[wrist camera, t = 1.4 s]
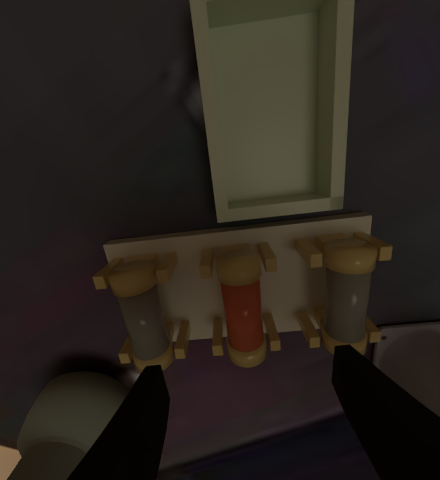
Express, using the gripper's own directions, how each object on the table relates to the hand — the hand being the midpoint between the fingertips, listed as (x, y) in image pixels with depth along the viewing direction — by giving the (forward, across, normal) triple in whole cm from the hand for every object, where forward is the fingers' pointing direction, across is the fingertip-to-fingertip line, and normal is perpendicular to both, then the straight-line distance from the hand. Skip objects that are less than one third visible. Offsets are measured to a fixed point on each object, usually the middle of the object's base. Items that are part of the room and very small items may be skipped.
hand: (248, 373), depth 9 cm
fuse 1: (+8, +7, +2) cm, 10 cm away
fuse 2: (+7, -7, +1) cm, 11 cm away
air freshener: (+11, +15, +14) cm, 23 cm away
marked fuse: (+8, 0, +2) cm, 8 cm away
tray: (+10, -3, -10) cm, 15 cm away
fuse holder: (+10, 0, +2) cm, 10 cm away
